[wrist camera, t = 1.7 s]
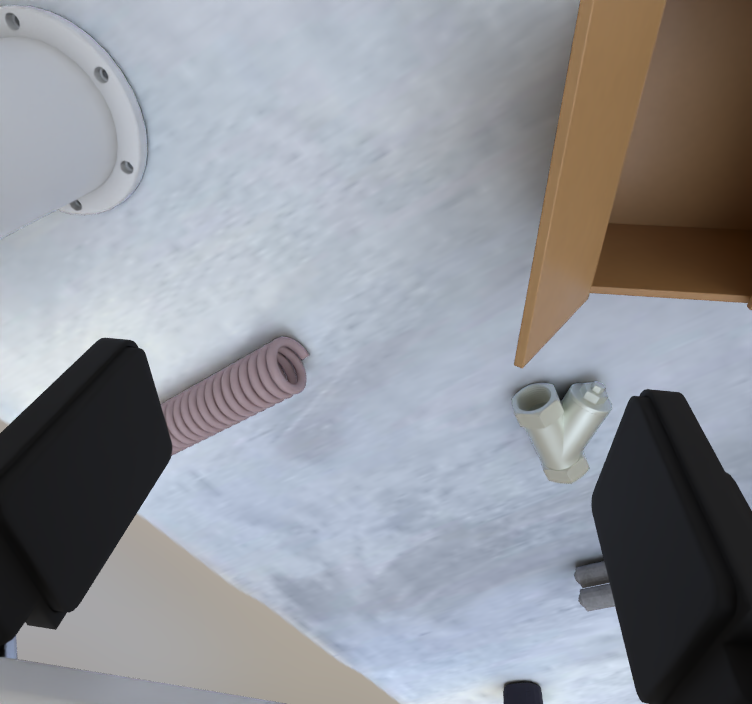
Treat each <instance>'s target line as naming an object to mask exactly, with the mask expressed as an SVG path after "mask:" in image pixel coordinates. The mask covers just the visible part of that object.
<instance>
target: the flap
mask: <svg viewBox="0 0 752 704" xmlns="http://www.w3.org/2000/svg"><path fill="white" fill-rule="evenodd" d="M664 4H665V0H580V4H579V10H578V15H577V21H576V26H575V32H574V37H573V43H572V48H571V54H570V59H569V65H568V70H567V76H566V81H565V87H564V92H563V98H562V103H561V109H560V114H559V120H558V125H557V131H556V136H555V142H554V147H553V153H552V158H551V164H550V169H549V175H548V180H547V186H546V191H545V197H544V202H543V208H542V213H541V219H540V224H539V230H538V235H537V241H536V246H535V252H534V257H533V263H532V268H531V274H530V279H529V285H528V290H527V296H526V301H525V307H524V312H523V318H522V323H521V329H520V334H519V340H518V345H517V351H516V356H515V362H514V365H515V366H517V367H520V368H523V367H524V366H525V365H526V364H527V363H528V362H529V361H530V360H531V359H532V358H533V357H534V356H535V355H536V354H537V352H538V351H539V350H540V349H541V348H542V347H543V346H544V345H545V344H546V343H547V342H548V341H549V340H550V339H551V338H552V337H553V335H554V334H555V333H556V332H557V331H558V330H559V329H560V328H561V327H562V326H563V325H564V324H565V323H566V322H567V321H568V319H569V318H570V317H571V316H572V315H573V314H574V313H575V312H576V311H577V310H578V309H579V308H580V307H581V306H582V305H583V304H584V302H585V301H586V300H587V299H588V296H589V292H590V288H591V285H592V281H593V277H594V273H595V269H596V265H597V262H598V258H599V254H600V250H601V246H602V242H603V238H604V235H605V231H606V227H607V223H608V219H609V215H610V212H611V208H612V204H613V200H614V196H615V192H616V189H617V185H618V181H619V177H620V173H621V169H622V165H623V162H624V158H625V154H626V150H627V146H628V142H629V139H630V135H631V131H632V127H633V123H634V119H635V116H636V112H637V108H638V104H639V100H640V96H641V92H642V89H643V85H644V81H645V77H646V73H647V69H648V66H649V62H650V58H651V54H652V50H653V46H654V42H655V39H656V35H657V31H658V27H659V23H660V19H661V16H662V12H663V8H664Z"/></svg>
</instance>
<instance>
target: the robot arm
mask: <svg viewBox="0 0 752 704" xmlns="http://www.w3.org/2000/svg"><path fill="white" fill-rule="evenodd" d="M106 72H107V73H106ZM107 74H108V75H107ZM147 151H148V148H147V135H146V128H145V124H144V120H143V116H142V112H141V109H140V107H139V104H138V102H137V100H136V97H135V95H134V92H133V90H132V88H131V87H130V85H129V83H128V81H127V80H126V78H125V76H124V75H123V73H122V71H121V70H120V68H119V67H118V66H117V65H116V63H115V62H114V61H113V59H112V58H111V57H110V56H109V54H108V53H107V52H106V51H105V50H104V49H103V48H102V47H101V46H100V45H99V44H98V43H97V42H96V41H95V40H94V39H93V38H92V37H91V36H90V35H89V34H87V33H86V32H84V31H83V30H82V29H80V28H79V27H78V26H76V25H75V24H73V23H72V22H71V21H69V20H67V19H65V18H63V17H61V16H59V15H57V14H55V13H53V12H50V11H47V10H43V9H40V8H36V7H33V6H21V5H8V6H0V239H2V238H4V237H6V236H8V235H10V234H12V233H14V232H16V231H18V230H19V229H21V228H23V227H25V226H27V225H29V224H31V223H33V222H35V221H37V220H38V219H40V218H42V217H44V216H46V215H48V214H50V213H52V212H54V211H55V210H58V211H61V212H65V213H68V214H77V215H91V214H99V213H102V212H105V211H107V210H110V209H112V208H114V207H116V206H117V205H119V204H121V203H122V202H124V201H125V200H126V199H127V198H128V197H129V196H130V195H131V194H133V192H134V191H135V189H136V188H137V186H138V185H139V183H140V181H141V179H142V176H143V173H144V170H145V167H146V160H147ZM171 455H172V441H171V438H170V435H169V431H168V428H167V425H166V421H165V418H164V414H163V411H162V408H161V404H160V401H159V398H158V394H157V391H156V388H155V384H154V381H153V378H152V374H151V371H150V367H149V364H148V361H147V357H146V354H145V352H144V351H143V350H142V349H140V348H138V346H137V344H136V343H135V342H134V341H131V340H124V339H113V338H101V339H100V340H98V341H97V342H96V343H95V344H94V345H92V346H91V347H90V348H89V349H88V350H87V351H86V352H85V353H84V354H83V355H82V356H81V357H80V358H79V359H78V360H77V361H76V362H75V363H74V364H73V365H71V366H70V367H69V368H68V369H67V370H66V371H65V372H64V373H63V374H62V375H61V376H60V377H59V378H58V379H57V380H56V381H55V382H54V383H53V384H52V385H50V386H49V387H48V388H47V389H46V390H45V391H44V392H43V393H42V394H41V395H40V396H39V397H38V398H37V399H36V400H35V401H34V402H33V403H32V404H31V405H30V406H28V407H27V408H26V409H25V410H24V411H23V412H22V413H21V414H20V415H19V416H18V417H17V418H16V419H15V420H14V421H13V422H12V423H11V424H10V425H9V426H7V427H6V428H5V429H4V430H3V431H2V432H1V433H0V704H286V703H280V702H274V701H268V700H262V699H256V698H250V697H244V696H238V695H232V694H226V693H220V692H215V691H209V690H202V689H196V688H191V687H185V686H179V685H172V684H166V683H160V682H154V681H147V680H141V679H135V678H130V677H124V676H117V675H111V674H105V673H99V672H92V671H87V670H81V669H75V668H68V667H62V666H56V665H50V664H44V663H38V662H31V661H26V660H19V659H17V643H16V634H17V633H18V631H19V630H20V628H21V627H22V625H23V624H24V623H25V622H26V623H27V625H30V626H36V627H43V628H49V629H55V630H56V629H57V627H58V626H59V624H60V623H61V621H62V619H63V618H64V616H65V615H66V613H67V612H71V611H73V610H74V609H75V608H77V607H78V605H79V604H80V602H81V601H82V599H83V598H84V596H85V595H86V593H87V591H88V590H89V588H90V587H91V585H92V583H93V582H94V580H95V579H96V577H97V575H98V574H99V572H100V571H101V569H102V568H103V566H104V564H105V563H106V561H107V559H108V558H109V556H110V555H111V553H112V552H113V550H114V548H115V547H116V545H117V544H118V542H119V540H120V539H121V537H122V536H123V534H124V532H125V531H126V529H127V528H128V526H129V525H130V523H131V521H132V520H133V518H134V516H135V515H136V513H137V512H138V510H139V509H140V507H141V505H142V504H143V502H144V501H145V499H146V497H147V496H148V494H149V493H150V491H151V489H152V488H153V486H154V485H155V483H156V482H157V480H158V478H159V477H160V475H161V474H162V472H163V470H164V469H165V467H166V466H167V464H168V462H169V460H170V458H171ZM592 513H593V517H594V521H595V525H596V530H597V534H598V538H599V542H600V546H601V550H602V554H603V558H604V562H605V566H606V570H607V574H608V578H609V583H610V587H611V591H612V595H613V599H614V603H615V607H616V611H617V615H618V619H619V623H620V627H621V631H622V636H623V640H624V644H625V648H626V652H627V656H628V660H629V664H630V668H631V672H632V676H633V680H634V684H635V688H636V692H637V694H638V697H639V699H640V700H641V701H642V702H644V703H649V704H752V511H751V509H750V507H749V505H748V503H747V502H746V500H745V498H744V496H743V494H742V493H741V491H740V489H739V487H738V485H737V484H736V482H735V481H734V479H733V478H732V477H731V475H729V474H728V473H726V472H725V471H724V469H723V467H722V465H721V463H720V462H719V460H718V458H717V456H716V454H715V452H714V450H713V449H712V447H711V445H710V443H709V441H708V439H707V438H706V436H705V434H704V432H703V430H702V428H701V427H700V425H699V423H698V421H697V419H696V417H695V415H694V414H693V412H692V410H691V408H690V406H689V404H688V403H687V401H686V399H685V397H684V396H683V395H682V394H681V393H679V392H670V391H660V390H649V389H646V390H644V391H643V392H642V393H641V394H640V396H633V397H631V398H630V400H629V402H628V404H627V407H626V409H625V412H624V414H623V417H622V420H621V422H620V425H619V427H618V430H617V432H616V435H615V438H614V440H613V443H612V445H611V448H610V450H609V453H608V456H607V458H606V461H605V463H604V466H603V468H602V471H601V474H600V476H599V479H598V481H597V484H596V486H595V489H594V492H593V495H592Z"/></svg>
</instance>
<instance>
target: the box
mask: <svg viewBox="0 0 752 704" xmlns="http://www.w3.org/2000/svg"><path fill="white" fill-rule="evenodd" d="M589 293H599V294H615V295H631V296H647V297H662V298H678V299H694V300H710V301H725V302H741V303H748V304H747V307H748V308H749V309H750V310H752V0H665V4H664V8H663V12H662V16H661V19H660V23H659V27H658V31H657V35H656V39H655V42H654V46H653V50H652V54H651V58H650V62H649V66H648V69H647V73H646V77H645V81H644V85H643V89H642V92H641V96H640V100H639V104H638V108H637V112H636V116H635V119H634V123H633V127H632V131H631V135H630V139H629V142H628V146H627V150H626V154H625V158H624V162H623V165H622V169H621V173H620V177H619V181H618V185H617V189H616V192H615V196H614V200H613V204H612V208H611V212H610V215H609V219H608V223H607V227H606V231H605V235H604V238H603V242H602V246H601V250H600V254H599V258H598V262H597V265H596V269H595V273H594V277H593V281H592V285H591V288H590V292H589Z"/></svg>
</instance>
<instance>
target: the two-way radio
mask: <svg viewBox="0 0 752 704" xmlns="http://www.w3.org/2000/svg"><path fill="white" fill-rule="evenodd" d="M503 696H504V704H543V700H542V692H541V688H540V687H539V686H538V685H537V684H533V683H532V682H530V683H526V682H525V683H514V684H509V685H506V686H505V687H504V691H503Z"/></svg>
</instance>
